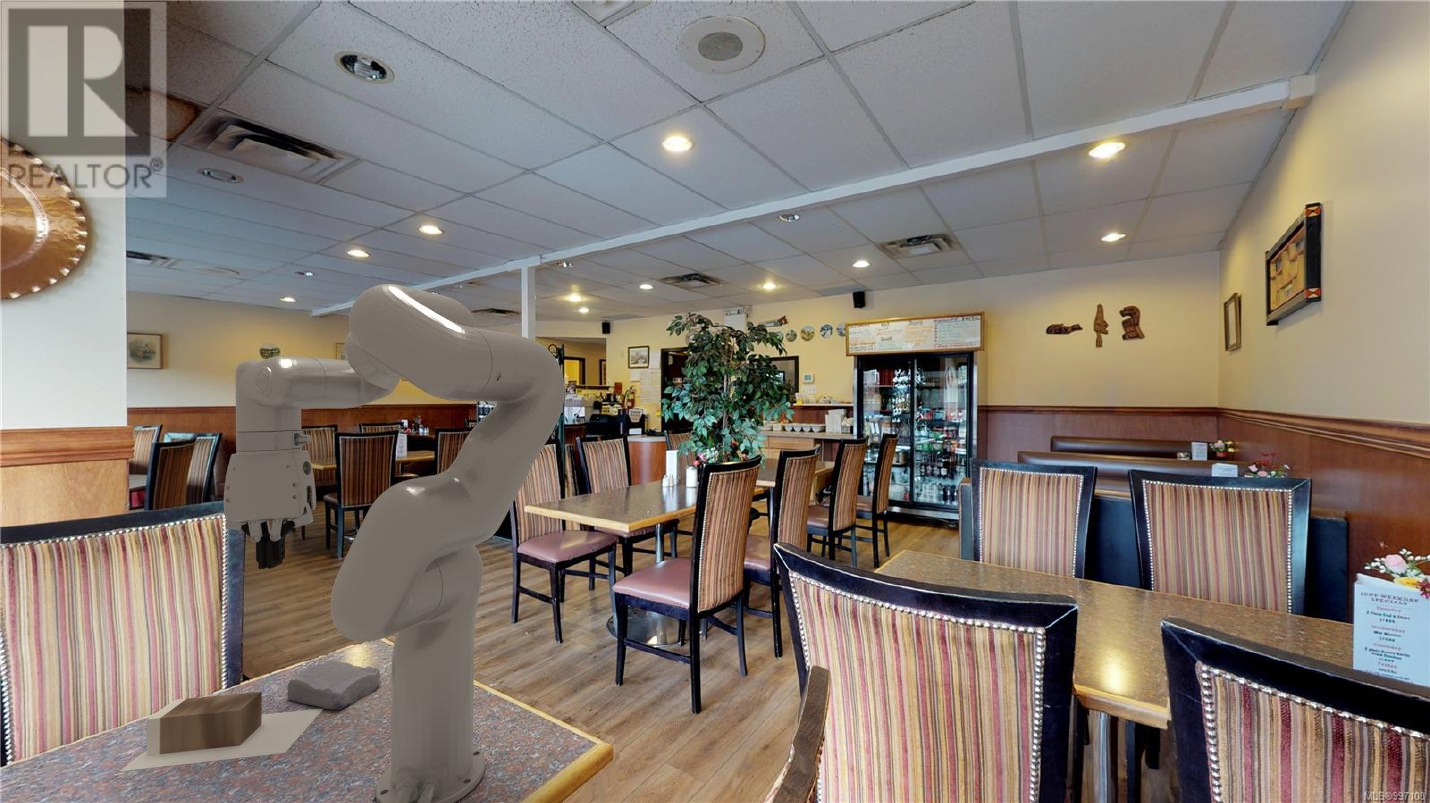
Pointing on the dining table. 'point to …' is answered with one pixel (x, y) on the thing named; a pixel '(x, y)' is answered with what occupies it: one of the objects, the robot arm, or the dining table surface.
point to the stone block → (332, 684)
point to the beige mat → (266, 740)
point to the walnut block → (204, 723)
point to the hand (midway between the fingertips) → (270, 565)
